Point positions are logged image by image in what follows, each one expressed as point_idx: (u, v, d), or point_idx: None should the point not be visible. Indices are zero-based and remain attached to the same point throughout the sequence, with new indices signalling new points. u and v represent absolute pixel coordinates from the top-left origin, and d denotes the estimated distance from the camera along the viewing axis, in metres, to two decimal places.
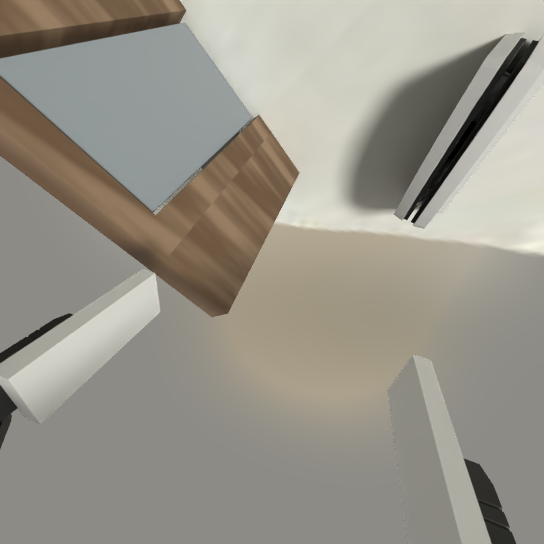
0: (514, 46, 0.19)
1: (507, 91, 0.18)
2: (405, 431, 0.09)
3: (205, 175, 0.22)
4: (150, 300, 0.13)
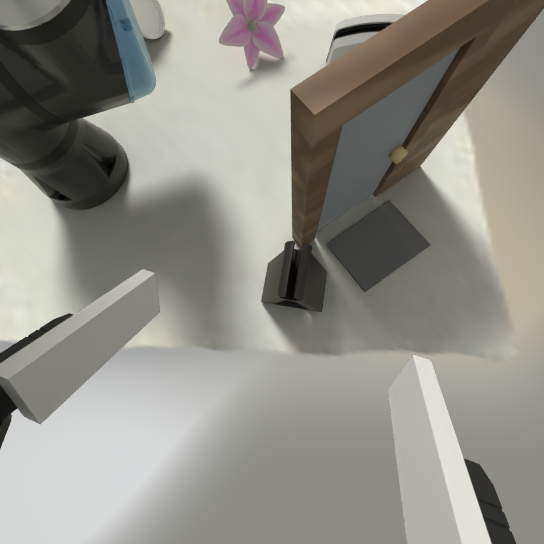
0: None
1: (346, 26, 0.37)
2: (405, 431, 0.09)
3: None
4: (150, 300, 0.13)
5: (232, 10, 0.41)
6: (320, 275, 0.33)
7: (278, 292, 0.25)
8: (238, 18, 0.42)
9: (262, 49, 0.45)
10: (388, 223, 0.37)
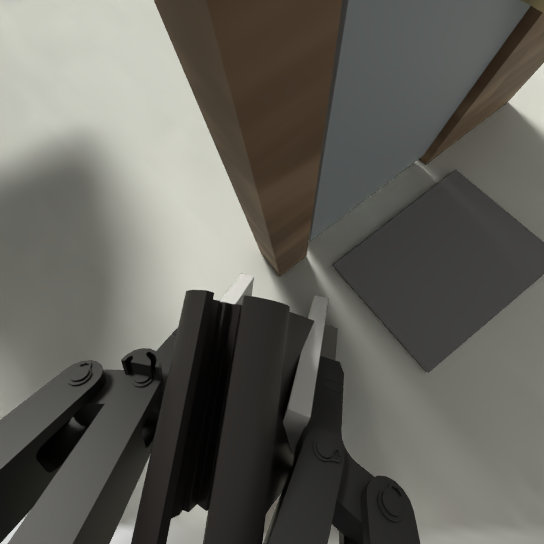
0: None
1: None
2: None
3: None
4: None
5: None
6: (324, 350, 0.13)
7: None
8: None
9: None
10: (461, 215, 0.18)
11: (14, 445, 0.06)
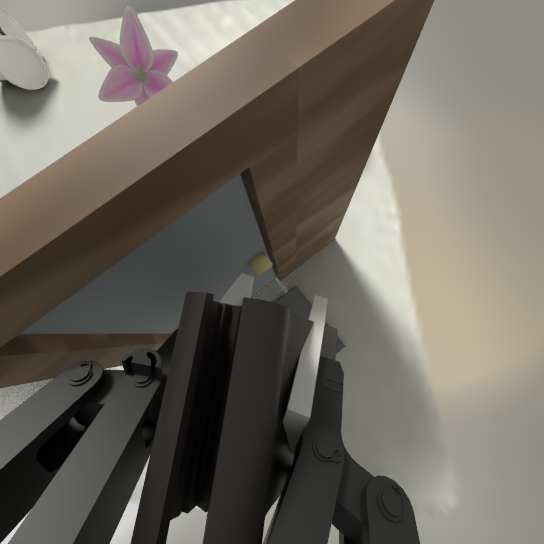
0: None
1: None
2: None
3: None
4: None
5: (109, 62, 0.34)
6: (324, 351, 0.13)
7: None
8: (120, 70, 0.35)
9: None
10: None
11: (14, 445, 0.06)
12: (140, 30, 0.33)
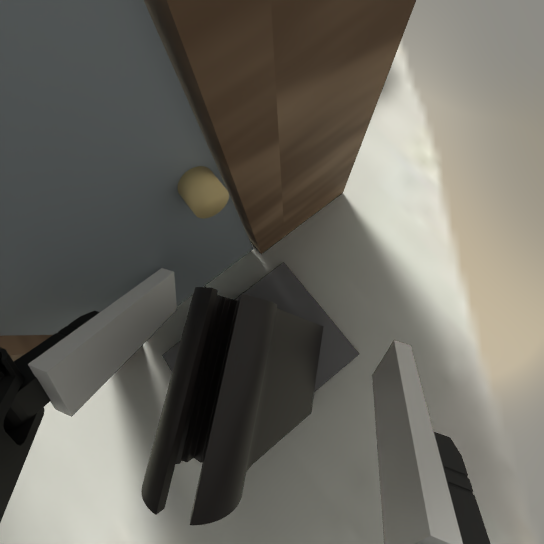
0: None
1: None
2: (384, 410, 0.10)
3: None
4: (169, 298, 0.13)
5: None
6: (308, 344, 0.15)
7: (145, 476, 0.07)
8: None
9: None
10: (280, 309, 0.19)
11: None
12: None
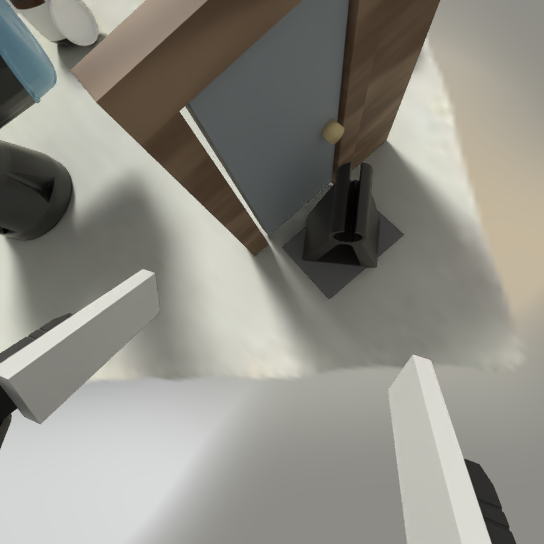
0: None
1: None
2: (405, 431, 0.09)
3: None
4: (150, 300, 0.13)
5: None
6: (375, 220, 0.27)
7: (333, 228, 0.20)
8: None
9: None
10: None
11: None
12: None
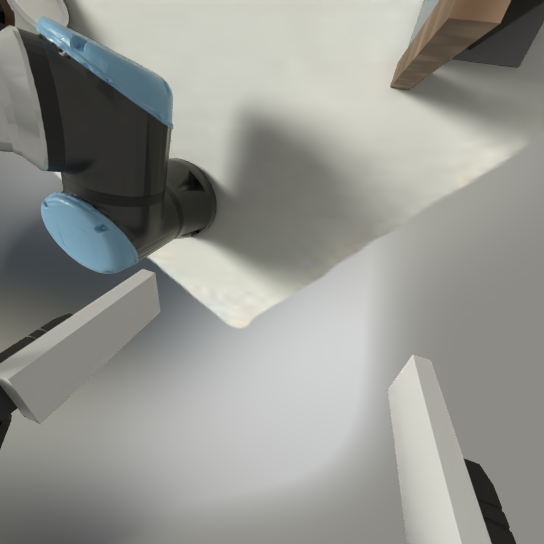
0: None
1: None
2: (405, 431, 0.09)
3: None
4: (150, 300, 0.13)
5: None
6: None
7: None
8: None
9: None
10: None
11: None
12: None
